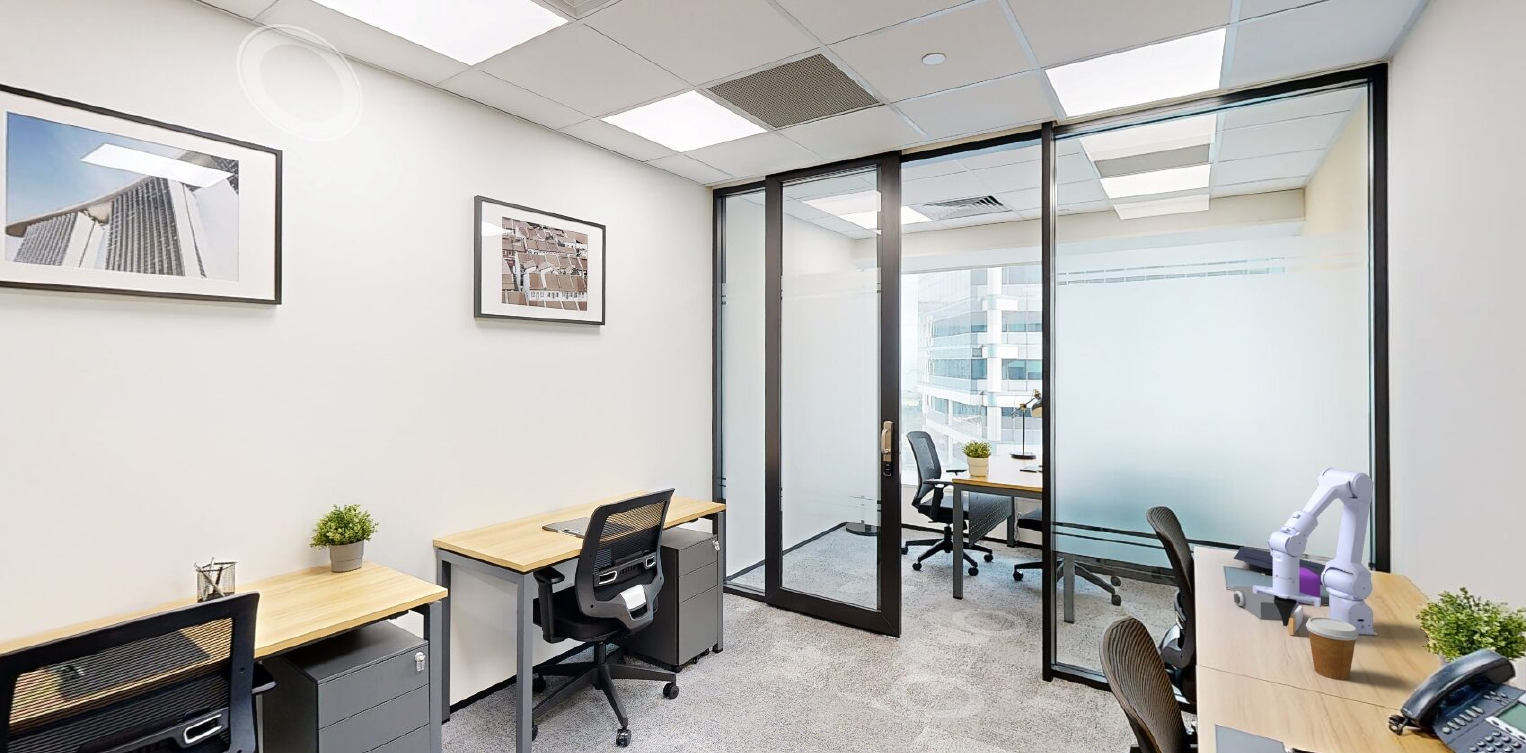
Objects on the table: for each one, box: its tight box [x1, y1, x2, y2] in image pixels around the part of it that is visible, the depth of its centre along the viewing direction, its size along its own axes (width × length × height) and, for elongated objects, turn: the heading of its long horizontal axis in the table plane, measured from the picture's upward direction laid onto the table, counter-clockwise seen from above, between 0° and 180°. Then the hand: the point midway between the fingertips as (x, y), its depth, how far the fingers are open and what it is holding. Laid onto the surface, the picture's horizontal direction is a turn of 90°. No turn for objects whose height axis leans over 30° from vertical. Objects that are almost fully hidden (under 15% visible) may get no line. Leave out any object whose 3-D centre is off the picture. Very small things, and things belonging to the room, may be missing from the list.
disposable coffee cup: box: [1305, 616, 1360, 681], centre depth 155 cm, size 10×10×12 cm
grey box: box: [1233, 585, 1304, 622], centre depth 193 cm, size 15×12×6 cm
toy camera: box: [1297, 567, 1321, 605], centre depth 204 cm, size 11×14×10 cm
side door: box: [1288, 606, 1303, 636], centre depth 181 cm, size 13×1×4 cm, turn 132°
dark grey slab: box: [1233, 546, 1326, 583], centre depth 231 cm, size 24×30×4 cm
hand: (1285, 625), depth 179 cm, fingers closed
